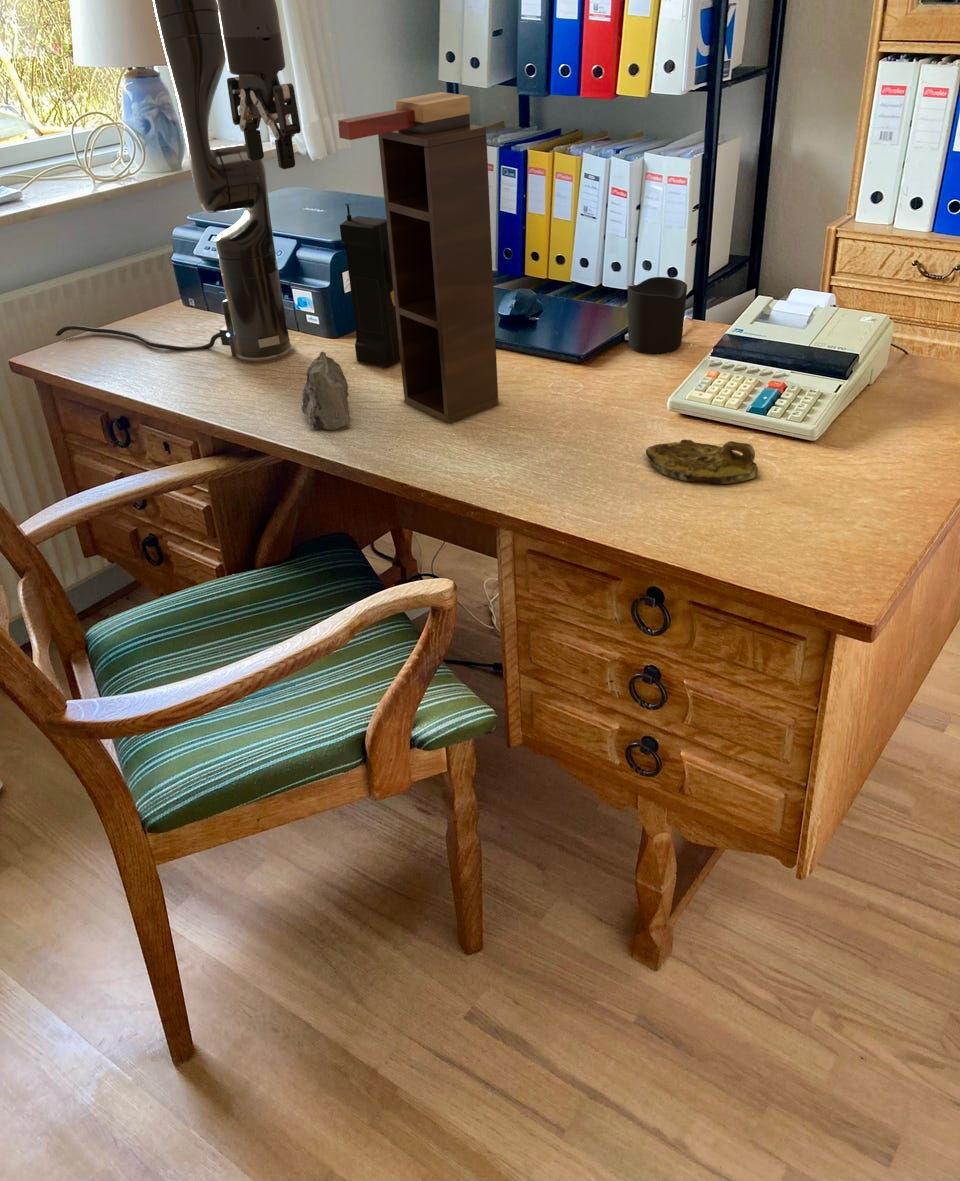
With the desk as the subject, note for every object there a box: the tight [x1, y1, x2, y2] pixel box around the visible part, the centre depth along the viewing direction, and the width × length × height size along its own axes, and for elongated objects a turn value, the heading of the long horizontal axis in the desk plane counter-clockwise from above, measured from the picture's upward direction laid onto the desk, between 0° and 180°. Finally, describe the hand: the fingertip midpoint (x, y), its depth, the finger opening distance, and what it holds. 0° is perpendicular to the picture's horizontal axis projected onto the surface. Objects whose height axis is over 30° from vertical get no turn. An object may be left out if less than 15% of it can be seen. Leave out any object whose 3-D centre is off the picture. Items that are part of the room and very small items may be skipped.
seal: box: [645, 439, 758, 485], centre depth 133 cm, size 9×5×15 cm
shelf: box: [377, 123, 499, 425], centre depth 144 cm, size 11×10×39 cm
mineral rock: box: [301, 351, 351, 431], centre depth 152 cm, size 13×11×10 cm
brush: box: [337, 91, 471, 141], centre depth 130 cm, size 6×18×4 cm, turn 129°
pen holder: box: [627, 276, 688, 355], centre depth 167 cm, size 9×9×10 cm
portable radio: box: [339, 203, 401, 368], centre depth 164 cm, size 8×6×25 cm
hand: (271, 163), depth 142 cm, fingers open, 8 cm apart
